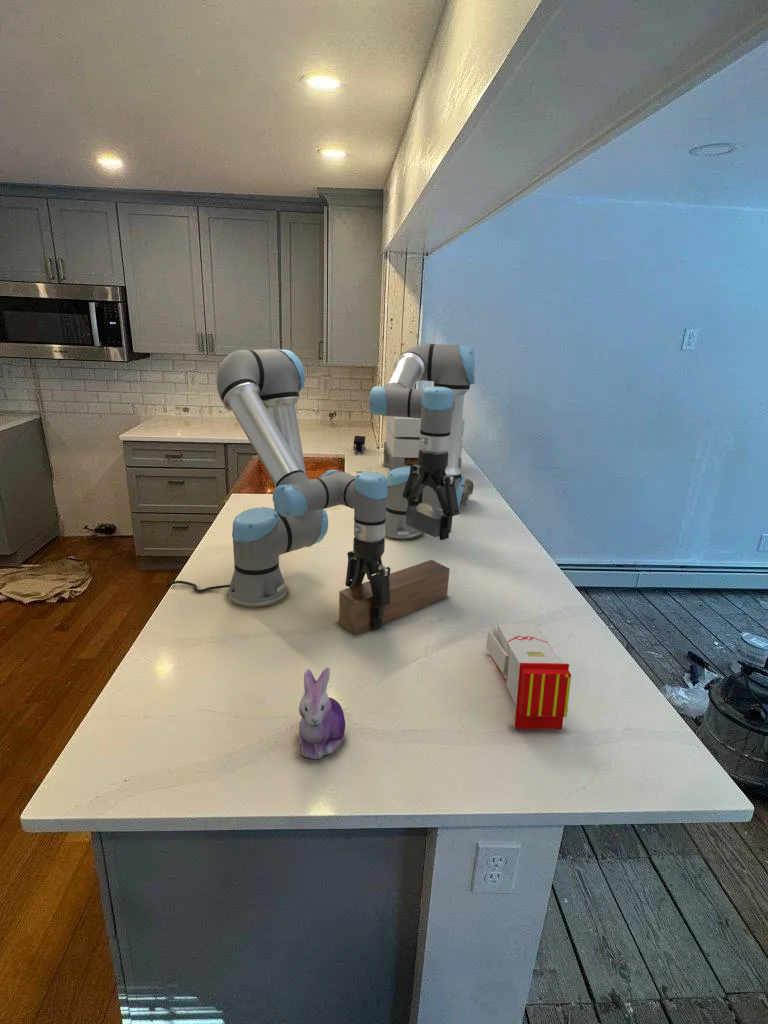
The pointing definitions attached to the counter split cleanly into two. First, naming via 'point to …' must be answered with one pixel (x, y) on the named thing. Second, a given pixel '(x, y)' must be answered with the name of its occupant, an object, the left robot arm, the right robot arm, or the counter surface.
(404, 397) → the right robot arm
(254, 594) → the left robot arm
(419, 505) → the grey block
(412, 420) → the transformer
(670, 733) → the counter surface
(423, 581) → the walnut stand
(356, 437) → the figurine character
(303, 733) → the figurine
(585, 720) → the counter surface
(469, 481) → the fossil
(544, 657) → the toy
